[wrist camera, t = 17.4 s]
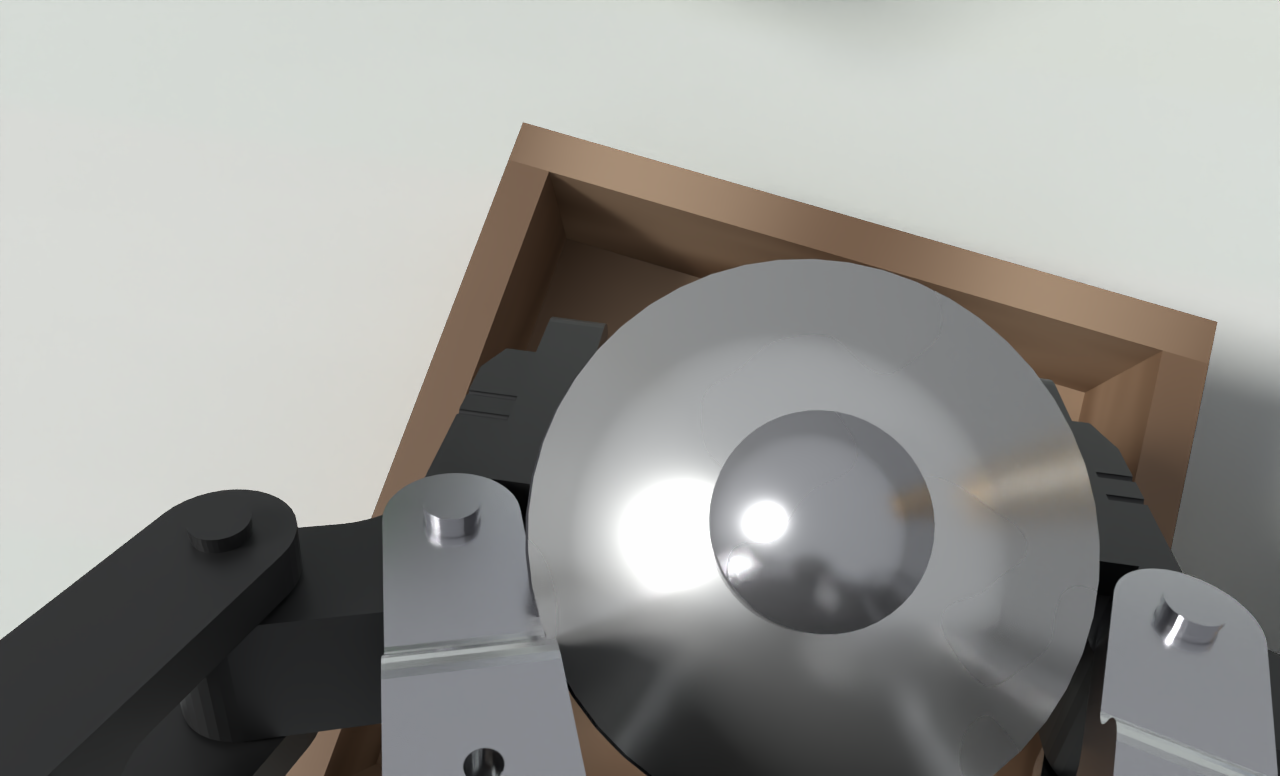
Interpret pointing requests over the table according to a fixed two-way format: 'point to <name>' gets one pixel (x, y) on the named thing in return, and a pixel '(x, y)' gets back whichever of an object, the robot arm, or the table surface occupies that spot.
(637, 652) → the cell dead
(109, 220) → the table surface
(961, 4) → the table surface
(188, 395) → the table surface
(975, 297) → the bin
